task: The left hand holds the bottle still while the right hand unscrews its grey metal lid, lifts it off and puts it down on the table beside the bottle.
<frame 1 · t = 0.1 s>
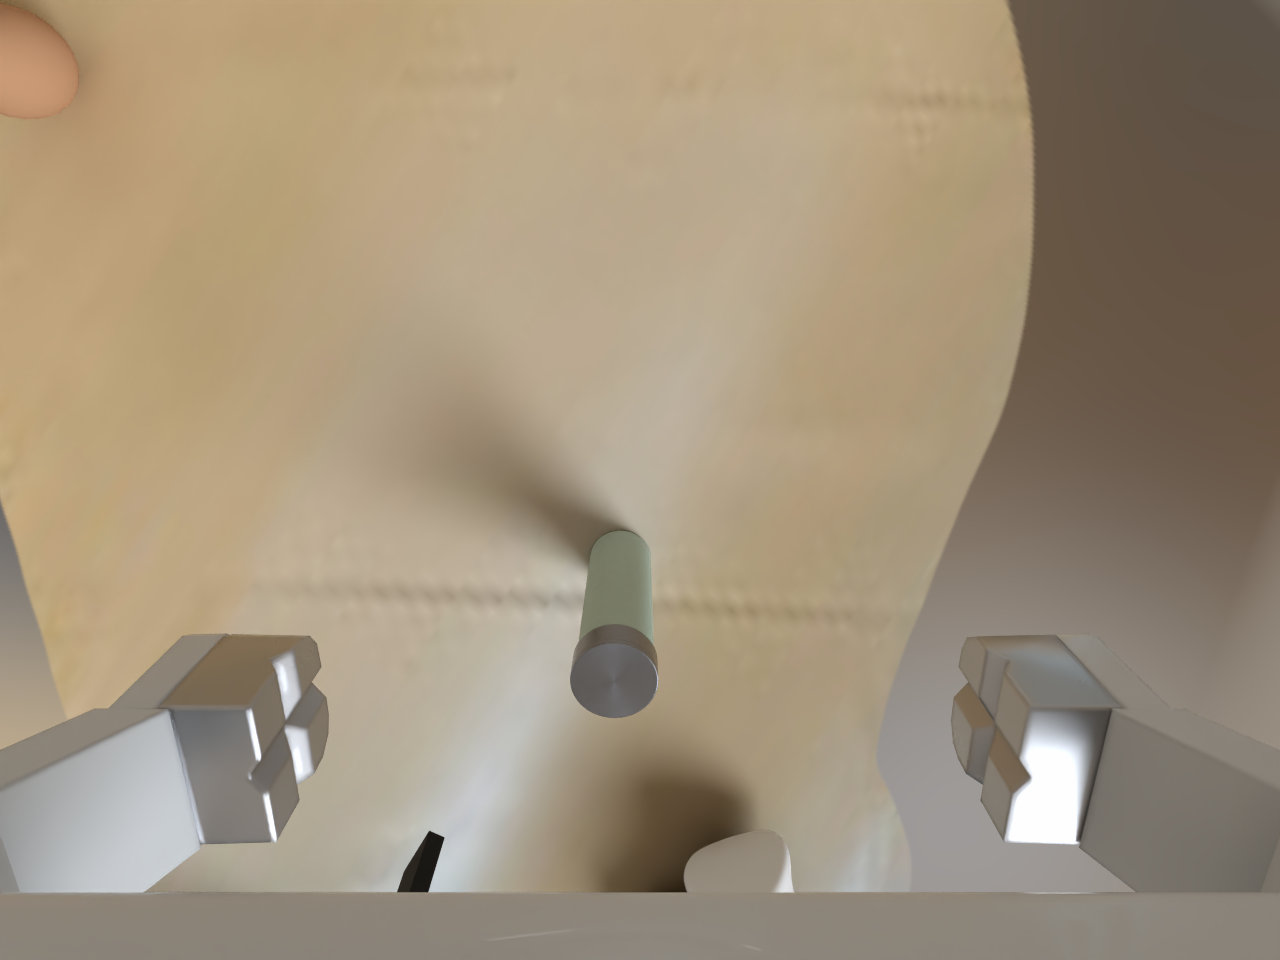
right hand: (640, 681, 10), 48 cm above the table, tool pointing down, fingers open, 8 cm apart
lid: (614, 677, 48), point 16 cm above the table, screwed on, not yet turned
egg: (57, 71, 51), on the table
fox head: (716, 902, 75), on the table
bottle: (620, 557, 63), on the table
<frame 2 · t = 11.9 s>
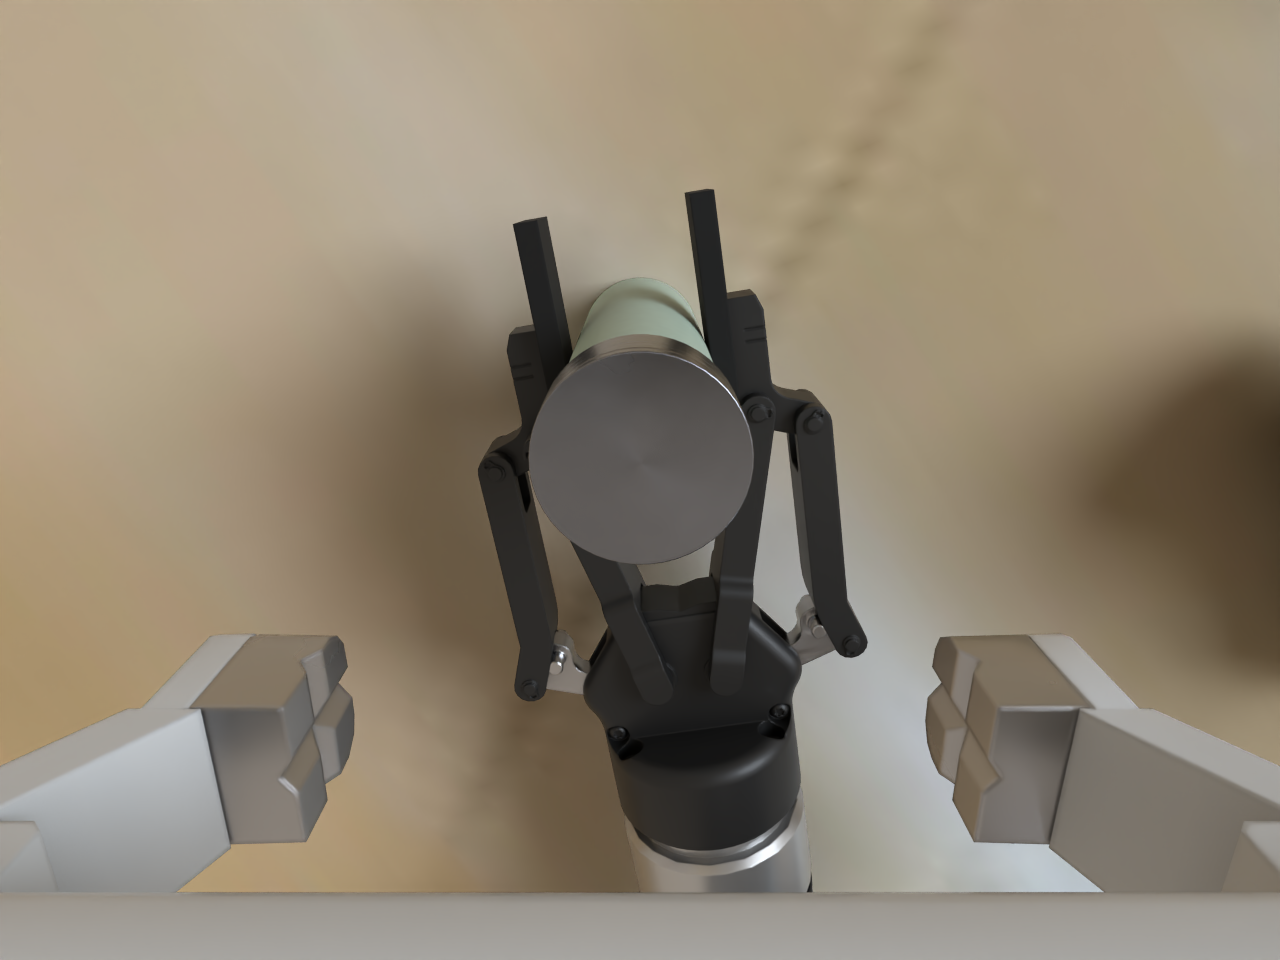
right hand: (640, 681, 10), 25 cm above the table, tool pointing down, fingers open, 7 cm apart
left hand: (614, 207, 26), fingers closed on bottle, 5 cm apart
lid: (641, 458, 19), point 16 cm above the table, screwed on, not yet turned
bottle: (640, 335, 34), on the table, touching left hand
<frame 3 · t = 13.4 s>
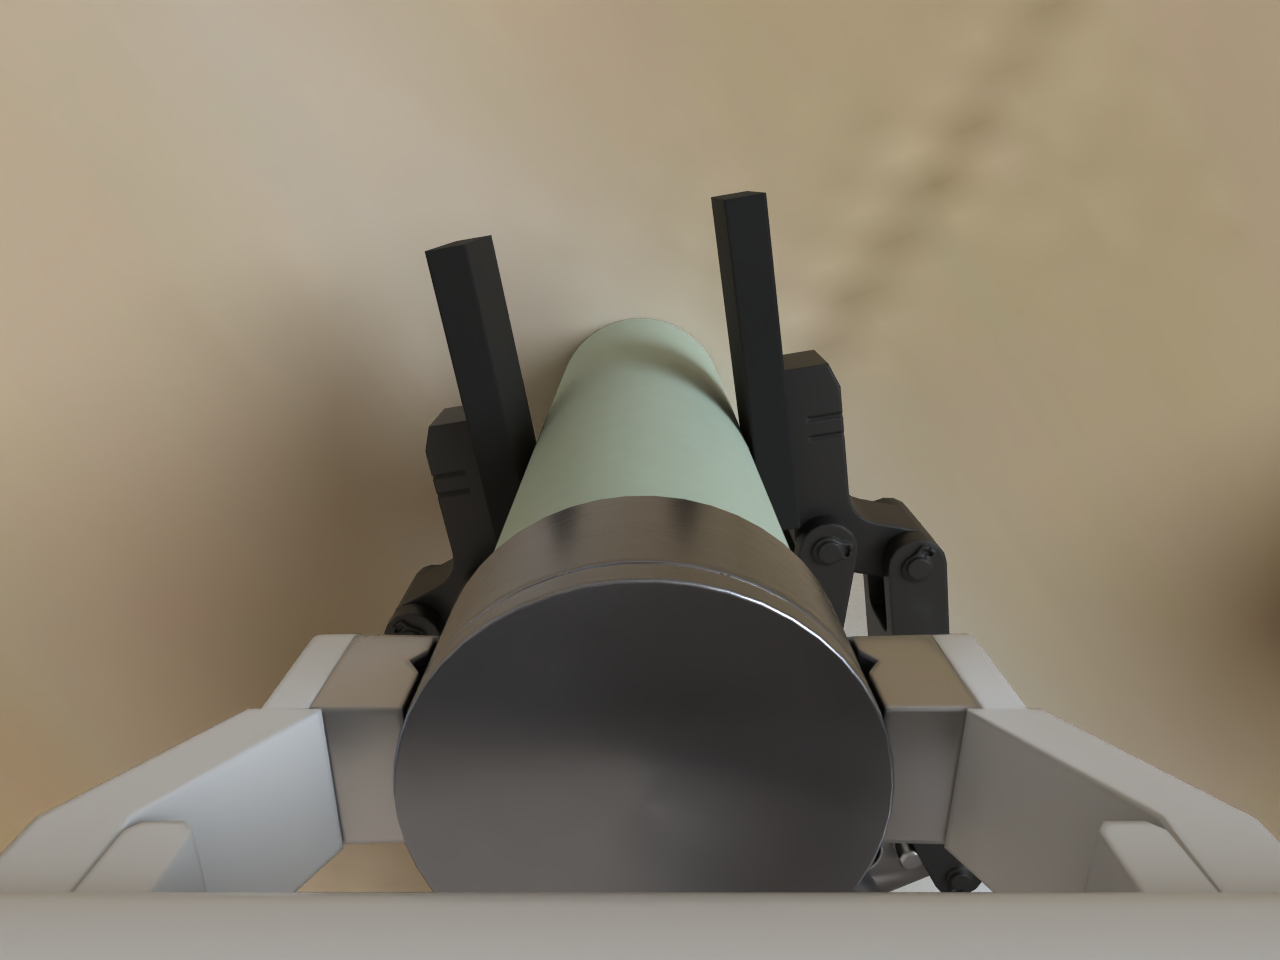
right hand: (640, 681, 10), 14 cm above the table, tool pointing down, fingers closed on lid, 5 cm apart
lid: (643, 779, 9), point 16 cm above the table, screwed on, not yet turned, touching right hand
bottle: (640, 398, 24), on the table, touching left hand
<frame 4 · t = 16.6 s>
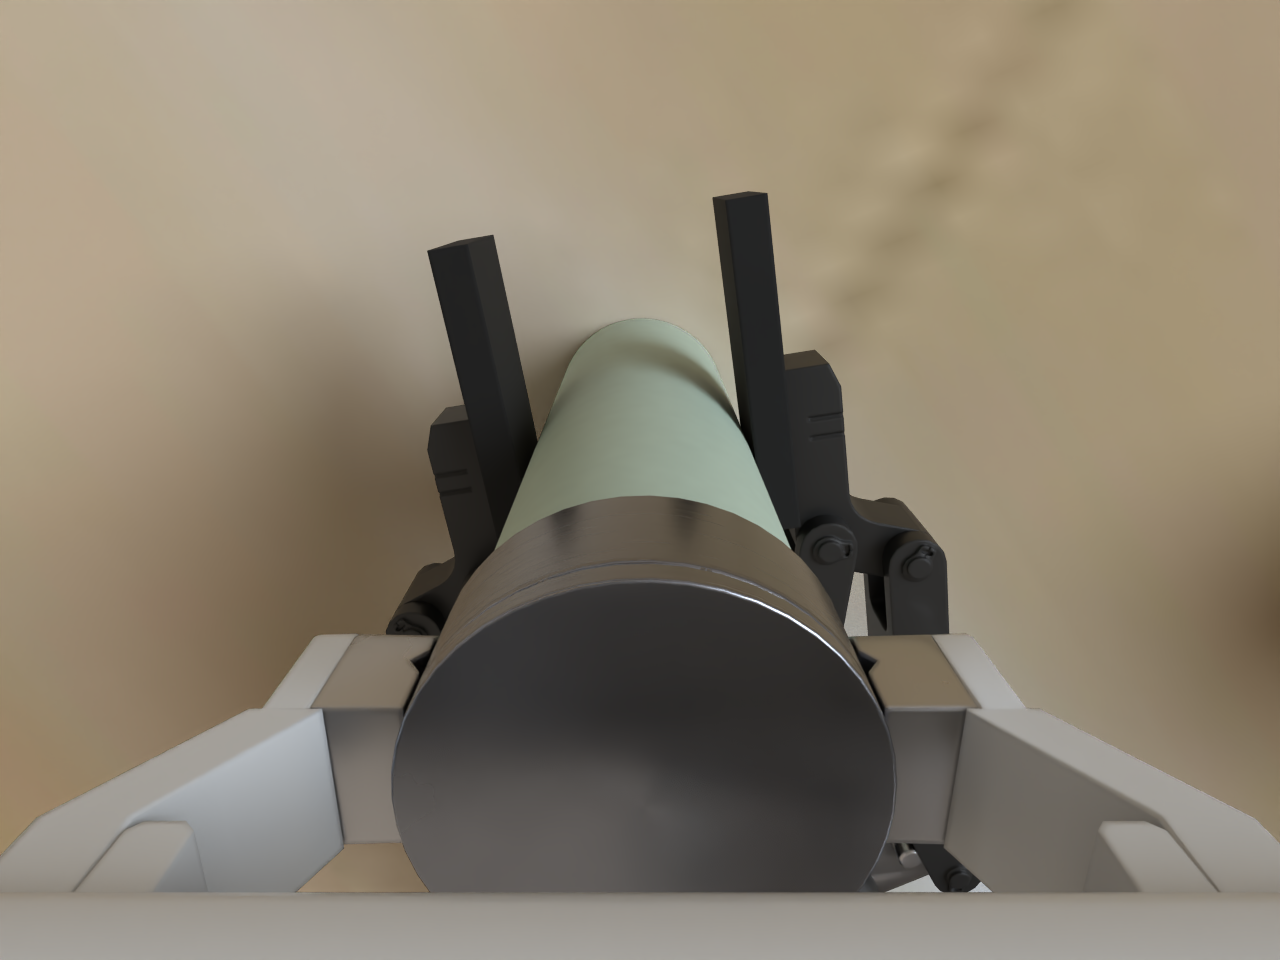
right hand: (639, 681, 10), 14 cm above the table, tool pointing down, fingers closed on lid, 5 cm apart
lid: (643, 782, 9), point 16 cm above the table, turned 76° so far, risen 0.1 cm, still on its thread, touching right hand
bottle: (641, 398, 24), on the table, touching left hand
when the right hand's fingers open (2 cm above the table, at t = 32.0 s): lid drops 2 cm, point 2 cm above the table.
when the left hand's fingers open (7 cm above the table, at t = 32.9 s): bottle stays where it is, on the table.
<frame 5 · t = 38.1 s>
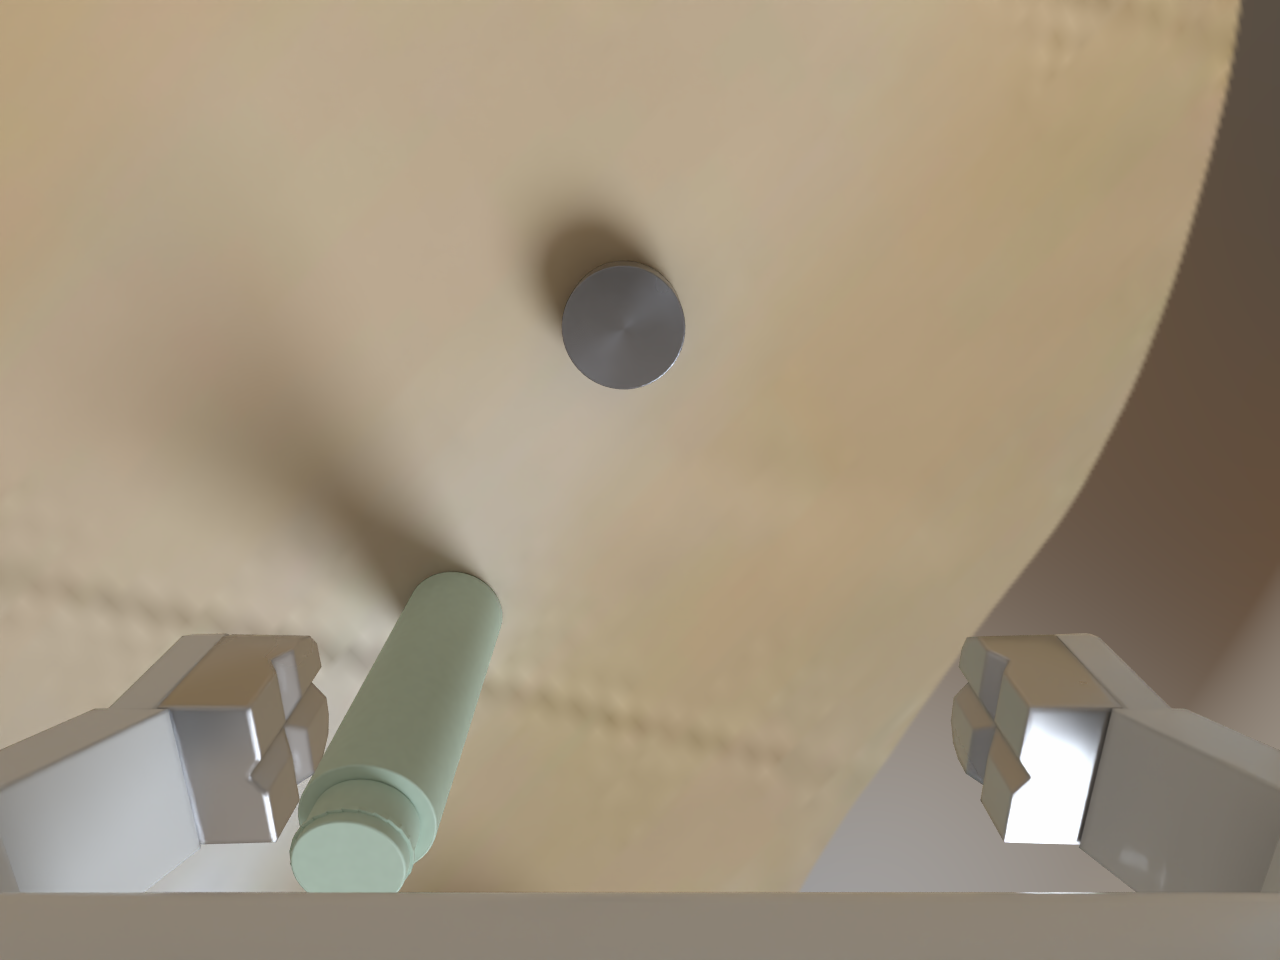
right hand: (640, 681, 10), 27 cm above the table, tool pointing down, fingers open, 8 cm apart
lid: (623, 327, 34), point 2 cm above the table, off its thread
bottle: (455, 613, 41), on the table
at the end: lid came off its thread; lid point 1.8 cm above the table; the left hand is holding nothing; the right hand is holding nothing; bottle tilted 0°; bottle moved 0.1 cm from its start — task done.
